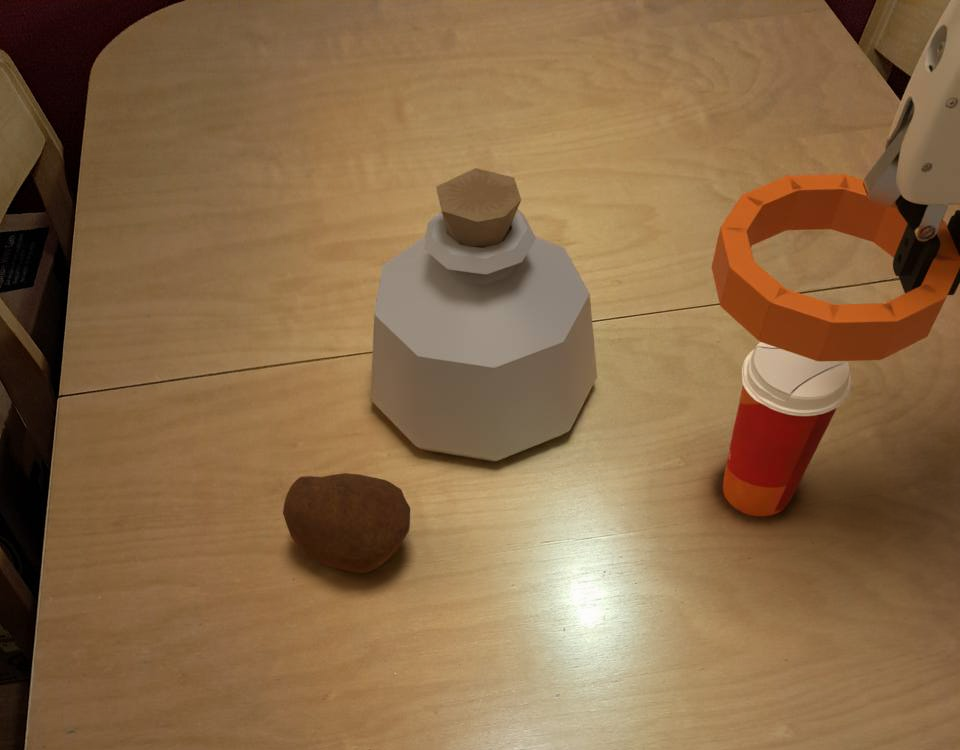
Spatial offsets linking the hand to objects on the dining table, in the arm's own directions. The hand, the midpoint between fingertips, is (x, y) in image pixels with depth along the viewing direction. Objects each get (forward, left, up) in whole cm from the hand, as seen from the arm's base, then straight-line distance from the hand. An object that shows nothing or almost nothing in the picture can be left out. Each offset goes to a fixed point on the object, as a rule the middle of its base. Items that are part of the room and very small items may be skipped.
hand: (924, 280), depth 62 cm
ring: (+6, 0, 0) cm, 6 cm away
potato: (+39, +5, -21) cm, 45 cm away
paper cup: (+6, 0, -21) cm, 22 cm away
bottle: (+28, -13, -21) cm, 37 cm away
